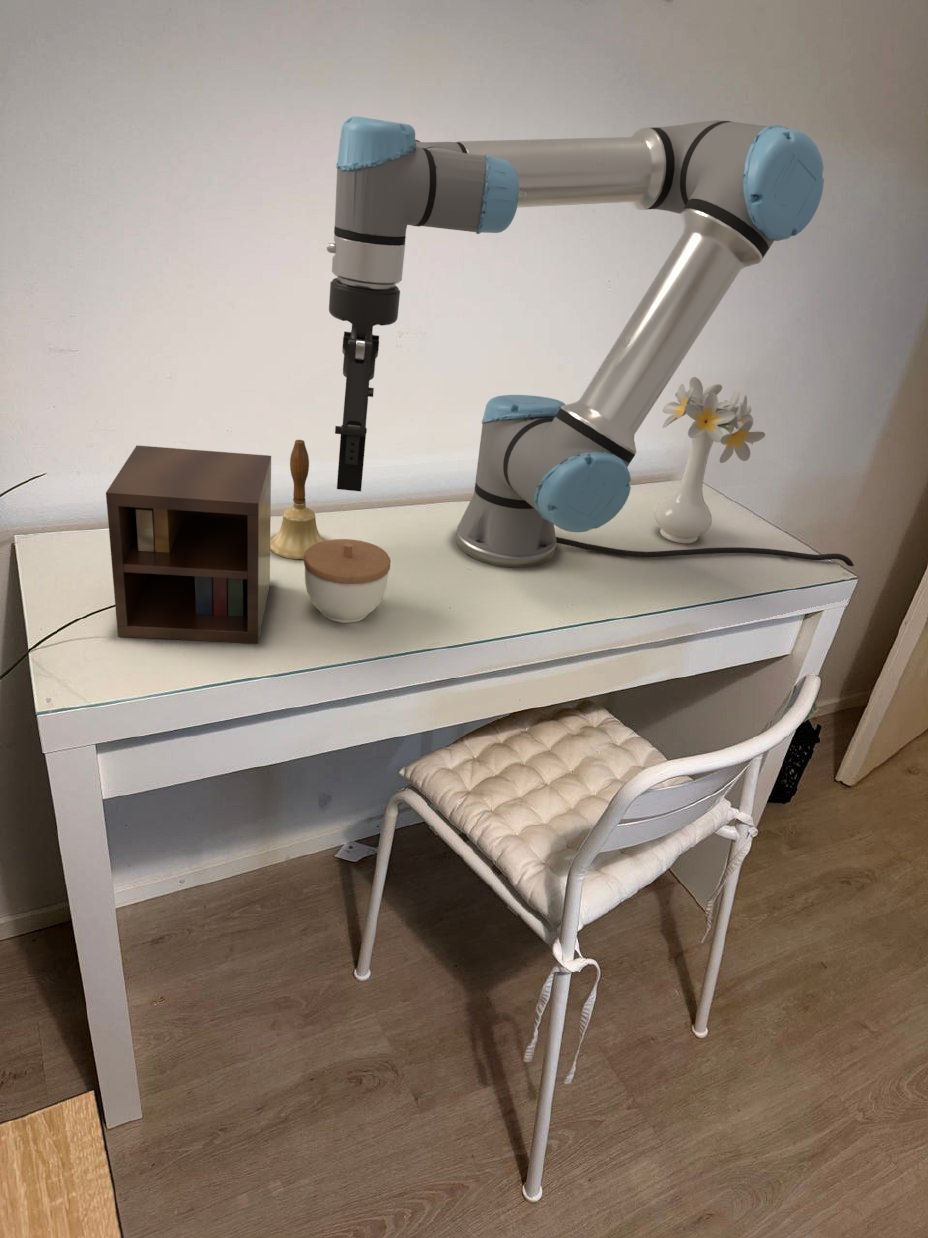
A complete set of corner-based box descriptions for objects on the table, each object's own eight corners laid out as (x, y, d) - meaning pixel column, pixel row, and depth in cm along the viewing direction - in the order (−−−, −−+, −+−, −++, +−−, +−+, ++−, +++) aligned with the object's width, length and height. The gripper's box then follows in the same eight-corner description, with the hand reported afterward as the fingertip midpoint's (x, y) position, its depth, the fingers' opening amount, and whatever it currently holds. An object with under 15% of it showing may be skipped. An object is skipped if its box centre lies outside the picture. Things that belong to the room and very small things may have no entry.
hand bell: (289, 564, 127) (292, 455, 119) (258, 541, 132) (258, 435, 124) (338, 552, 132) (344, 446, 124) (307, 530, 137) (310, 427, 129)
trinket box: (372, 639, 112) (378, 571, 108) (289, 622, 114) (291, 554, 109) (395, 600, 122) (401, 536, 117) (318, 585, 123) (321, 520, 118)
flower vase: (691, 566, 142) (733, 409, 130) (617, 519, 155) (649, 372, 143) (750, 556, 148) (796, 405, 136) (674, 511, 162) (709, 370, 149)
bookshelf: (269, 584, 121) (271, 455, 113) (258, 643, 109) (258, 503, 100) (144, 577, 119) (136, 445, 110) (117, 636, 106) (105, 492, 98)
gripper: (336, 258, 109) (325, 431, 119) (323, 298, 87) (311, 505, 97) (399, 267, 110) (382, 437, 120) (402, 308, 88) (382, 512, 98)
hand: (351, 468), depth 109 cm, fingers open, 13 cm apart
